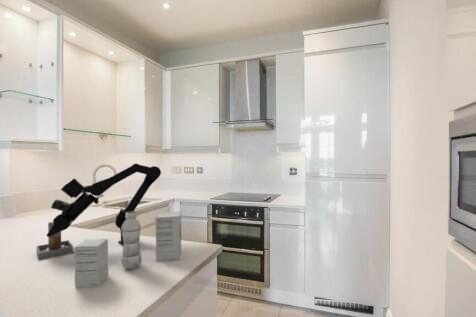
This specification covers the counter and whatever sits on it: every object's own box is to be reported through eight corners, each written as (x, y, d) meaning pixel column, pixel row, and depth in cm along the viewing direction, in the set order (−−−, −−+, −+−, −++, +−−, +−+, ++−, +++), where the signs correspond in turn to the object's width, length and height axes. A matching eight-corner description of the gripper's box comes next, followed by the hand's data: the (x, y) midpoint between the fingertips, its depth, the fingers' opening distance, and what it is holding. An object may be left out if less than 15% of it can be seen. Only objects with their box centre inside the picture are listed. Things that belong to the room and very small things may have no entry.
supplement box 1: (86, 276, 85) (85, 239, 85) (109, 275, 86) (108, 238, 86) (73, 287, 78) (73, 246, 78) (99, 286, 79) (98, 245, 79)
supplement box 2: (180, 260, 99) (179, 216, 99) (155, 261, 97) (155, 217, 97) (181, 251, 108) (181, 211, 108) (159, 252, 107) (158, 212, 107)
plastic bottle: (134, 272, 88) (134, 214, 88) (117, 270, 90) (116, 213, 90) (145, 264, 95) (144, 210, 95) (128, 263, 96) (128, 210, 96)
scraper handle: (64, 247, 113) (64, 220, 113) (61, 251, 108) (61, 223, 108) (48, 249, 111) (48, 221, 111) (44, 254, 105) (43, 224, 105)
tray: (73, 252, 109) (73, 246, 109) (38, 259, 101) (38, 253, 101) (68, 245, 117) (68, 240, 117) (36, 251, 110) (36, 246, 110)
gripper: (69, 190, 119) (41, 216, 115) (59, 195, 102) (25, 226, 98) (89, 206, 122) (62, 232, 118) (82, 213, 105) (50, 244, 101)
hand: (50, 233), depth 109 cm, fingers open, 9 cm apart
